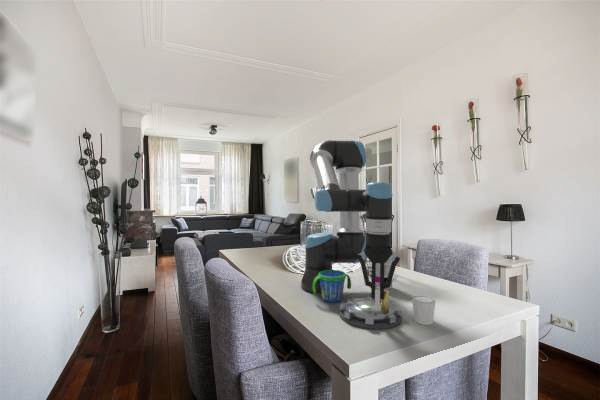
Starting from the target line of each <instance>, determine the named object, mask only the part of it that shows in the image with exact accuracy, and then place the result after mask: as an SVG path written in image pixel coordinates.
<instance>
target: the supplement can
mask: <svg viewBox="0 0 600 400" xmlns="http://www.w3.org/2000/svg"><path fill="white" fill-rule="evenodd" d="M391 258H392V257H390V258H389V259H388V260H387V262H386V263H384V283H386V281H387V277H388V274H389V270H390V266H391V263H392V260H391ZM375 287H380V263H376V277H375ZM392 288H393V281H392V282H391V285H390V287H389V288H385V290H391V289H392Z"/></svg>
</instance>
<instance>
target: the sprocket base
mask: <svg viewBox="0 0 600 400" xmlns="http://www.w3.org/2000/svg"><path fill="white" fill-rule="evenodd" d="M338 312H339V314H338V315H339V318H340V319H341V320H342V321H343V322H345V323H346V324H348V325H351V326H353V327H356V328H360V329H364V330H365V329H366V330H379V331H380V330H381V331H382V330H389V329H394V328H396V327H398V326H399V325H400V324H402V321H403V320H402V315H401V316H396V322H394V323H391V324H390V323H388V322H377V323H376V322H374V325H371V324H365V321H360V320H357V319H354V318H353V319H348V318H346V317H345V311H342V310H340V309H339V311H338Z"/></svg>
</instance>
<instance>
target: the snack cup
mask: <svg viewBox="0 0 600 400" xmlns="http://www.w3.org/2000/svg"><path fill="white" fill-rule="evenodd" d="M346 278H347V282H346V283H347V284H346V288H347V289H348V290H351V288H352V280H351V277H350V275H349V274H347V273H346V272H344V271H342V270H337V269H332V270H324V271H321V272H319V274H318V276H316V277H315V279H314V281H313V286H312V289H313V292H312V293H314V294H316V293H317V292H316V288H315V283H316V282H317V280H318V279H319V280H320V286H321V298H322V300H323V301H325V302H328V303H337V302H341V301H342V299H343V295H344V289H345V281H346Z"/></svg>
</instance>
